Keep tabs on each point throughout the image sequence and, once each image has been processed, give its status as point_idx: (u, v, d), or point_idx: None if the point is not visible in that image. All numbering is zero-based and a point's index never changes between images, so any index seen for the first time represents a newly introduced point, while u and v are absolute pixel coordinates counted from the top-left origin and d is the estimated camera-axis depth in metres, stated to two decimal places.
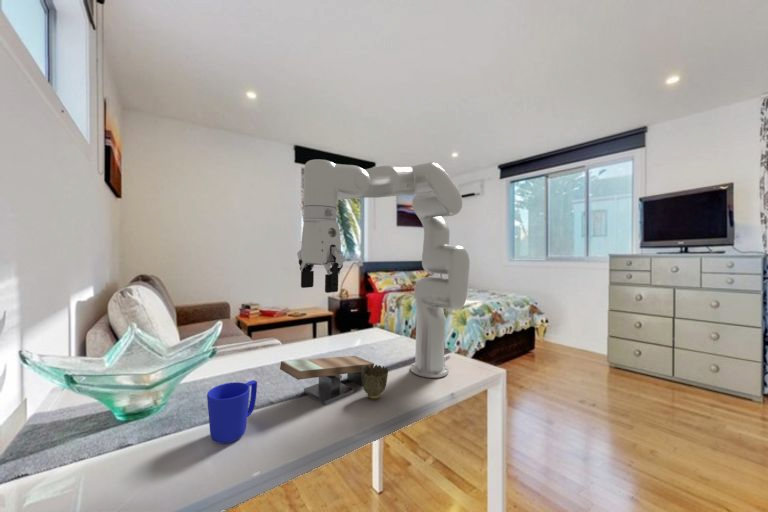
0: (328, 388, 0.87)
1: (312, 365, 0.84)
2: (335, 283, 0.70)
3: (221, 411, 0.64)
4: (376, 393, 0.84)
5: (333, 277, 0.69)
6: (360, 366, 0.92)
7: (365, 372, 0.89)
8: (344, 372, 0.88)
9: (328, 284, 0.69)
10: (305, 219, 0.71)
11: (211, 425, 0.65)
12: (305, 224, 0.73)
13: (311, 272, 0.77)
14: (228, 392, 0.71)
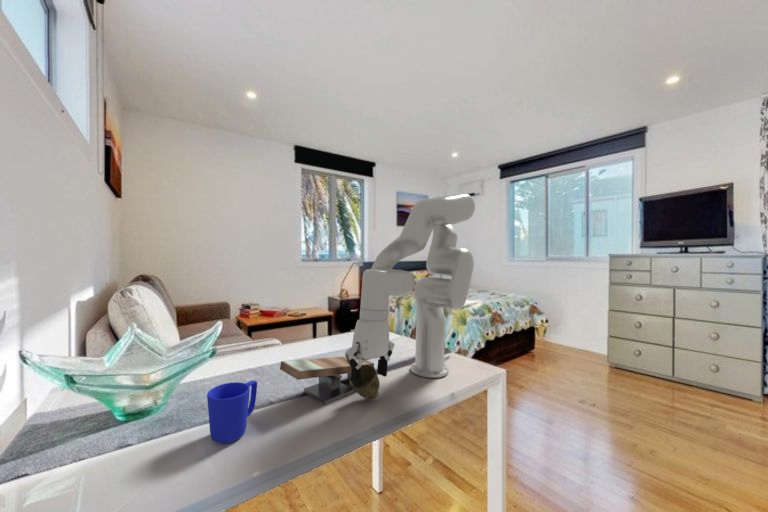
0: (328, 388, 0.87)
1: (312, 365, 0.84)
2: None
3: (221, 411, 0.64)
4: (372, 395, 0.83)
5: None
6: None
7: None
8: (344, 372, 0.88)
9: None
10: (382, 321, 0.83)
11: (211, 425, 0.65)
12: (372, 325, 0.82)
13: None
14: (228, 392, 0.71)
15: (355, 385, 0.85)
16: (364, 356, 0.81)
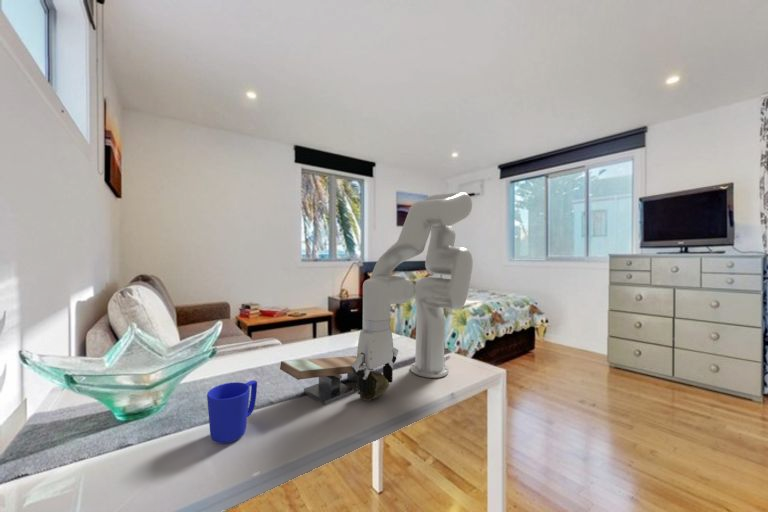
0: (328, 388, 0.87)
1: (312, 365, 0.84)
2: None
3: (221, 411, 0.64)
4: (384, 391, 0.87)
5: None
6: (360, 366, 0.92)
7: None
8: (344, 372, 0.88)
9: None
10: (385, 331, 0.84)
11: (211, 425, 0.65)
12: (376, 335, 0.83)
13: None
14: (228, 392, 0.71)
15: None
16: (369, 366, 0.83)
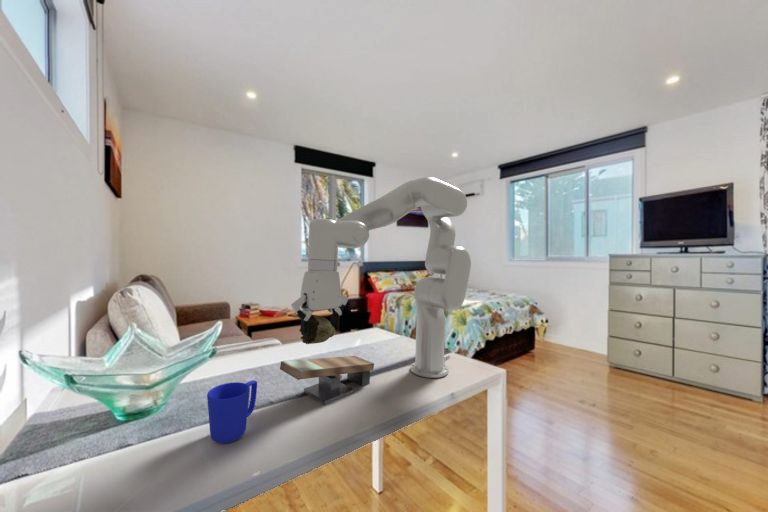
0: (328, 388, 0.87)
1: (312, 365, 0.84)
2: None
3: (221, 411, 0.64)
4: (329, 337, 0.83)
5: None
6: (360, 366, 0.92)
7: None
8: (344, 372, 0.88)
9: None
10: (330, 271, 0.80)
11: (211, 425, 0.65)
12: (319, 275, 0.80)
13: None
14: (228, 392, 0.71)
15: (310, 334, 0.84)
16: (311, 307, 0.79)
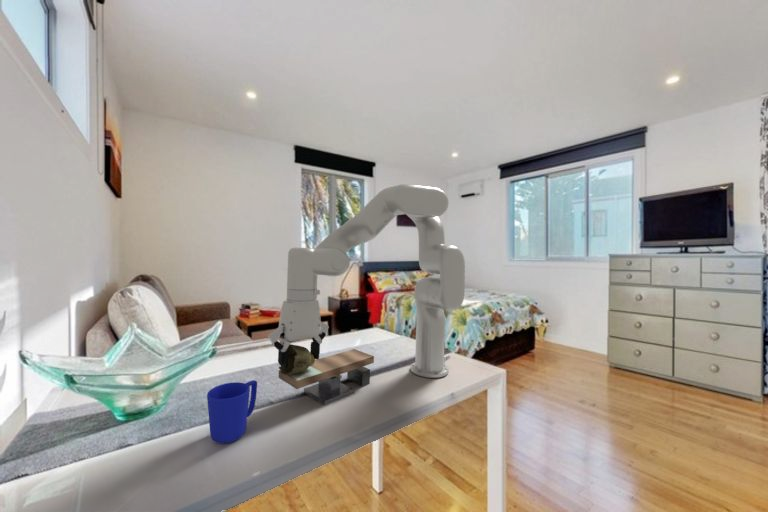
0: (328, 388, 0.87)
1: (310, 370, 0.83)
2: None
3: (221, 411, 0.64)
4: (307, 367, 0.82)
5: None
6: (359, 362, 0.92)
7: None
8: (344, 371, 0.87)
9: None
10: (308, 301, 0.79)
11: (211, 425, 0.65)
12: (297, 305, 0.79)
13: None
14: (228, 392, 0.71)
15: (289, 364, 0.83)
16: (289, 338, 0.78)
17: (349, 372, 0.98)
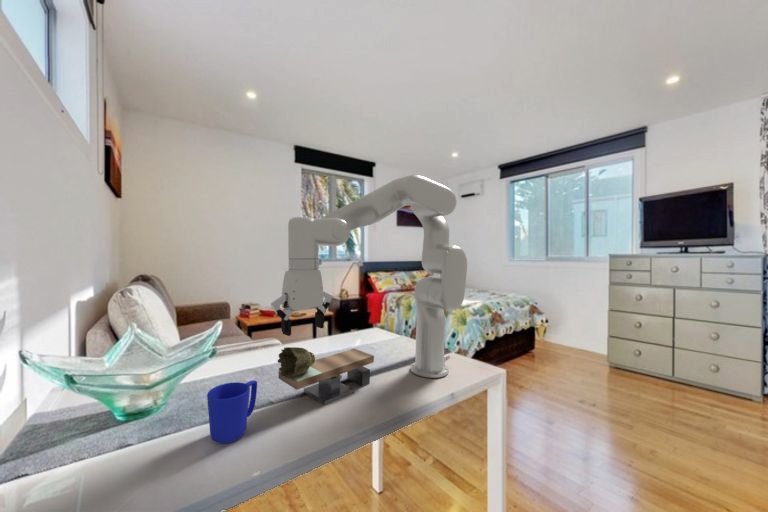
0: (328, 388, 0.87)
1: (310, 370, 0.83)
2: None
3: (221, 411, 0.64)
4: None
5: None
6: (359, 361, 0.92)
7: (284, 357, 0.82)
8: (344, 371, 0.87)
9: None
10: (310, 270, 0.79)
11: (211, 425, 0.65)
12: (300, 274, 0.79)
13: None
14: (228, 392, 0.71)
15: (289, 364, 0.83)
16: (292, 306, 0.78)
17: (349, 372, 0.98)
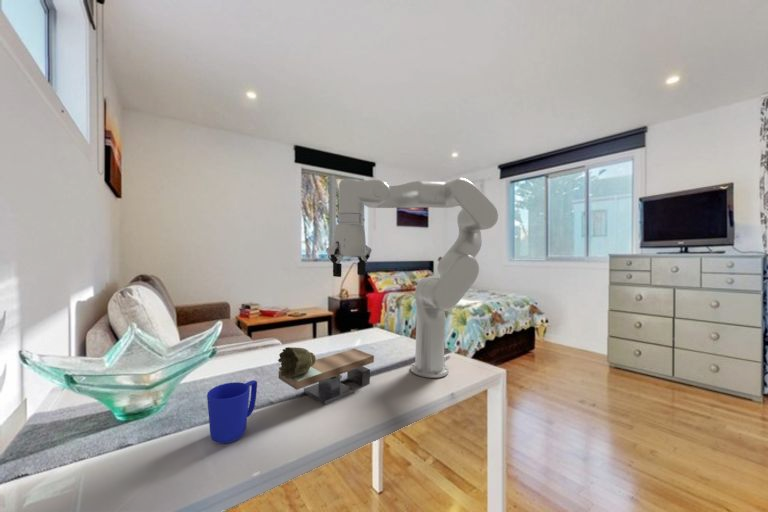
0: (328, 388, 0.87)
1: (310, 370, 0.83)
2: None
3: (221, 411, 0.64)
4: (308, 369, 0.81)
5: None
6: (359, 361, 0.92)
7: (285, 357, 0.82)
8: (344, 371, 0.87)
9: None
10: (357, 223, 0.95)
11: (211, 425, 0.65)
12: (349, 226, 0.95)
13: None
14: (228, 392, 0.71)
15: (289, 363, 0.83)
16: (343, 252, 0.94)
17: (349, 372, 0.98)
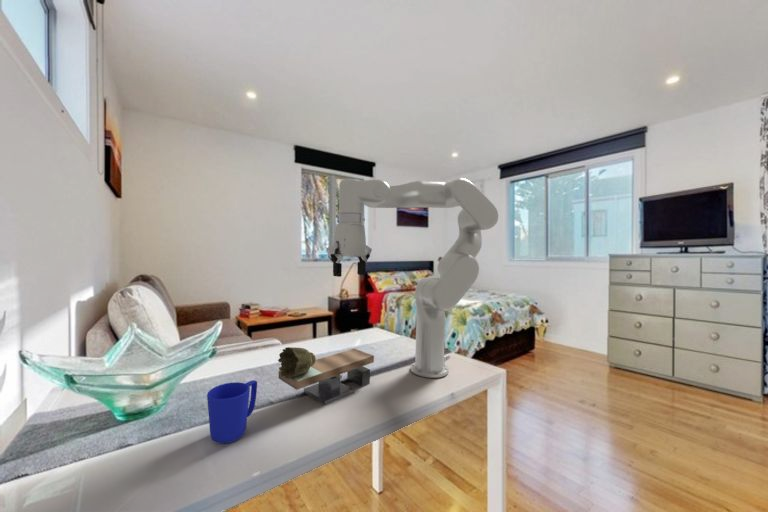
0: (328, 388, 0.87)
1: (310, 370, 0.83)
2: None
3: (221, 411, 0.64)
4: (308, 369, 0.81)
5: None
6: (359, 361, 0.92)
7: (285, 357, 0.82)
8: (344, 371, 0.87)
9: None
10: (358, 223, 0.95)
11: (211, 425, 0.65)
12: (349, 226, 0.95)
13: None
14: (228, 392, 0.71)
15: (289, 363, 0.83)
16: (343, 252, 0.94)
17: (349, 372, 0.98)
